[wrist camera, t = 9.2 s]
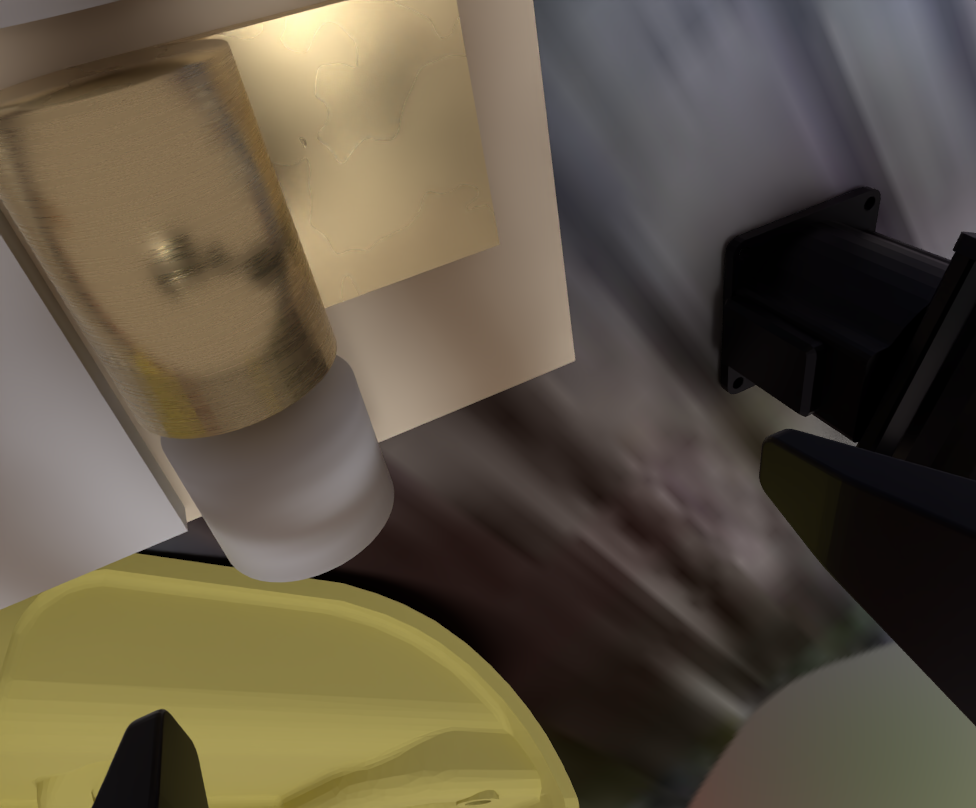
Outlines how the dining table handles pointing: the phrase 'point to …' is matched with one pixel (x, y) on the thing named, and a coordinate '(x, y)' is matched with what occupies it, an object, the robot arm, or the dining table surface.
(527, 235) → the hinge base
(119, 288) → the brass cylinder with flap
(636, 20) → the dining table surface
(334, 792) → the plastic component
